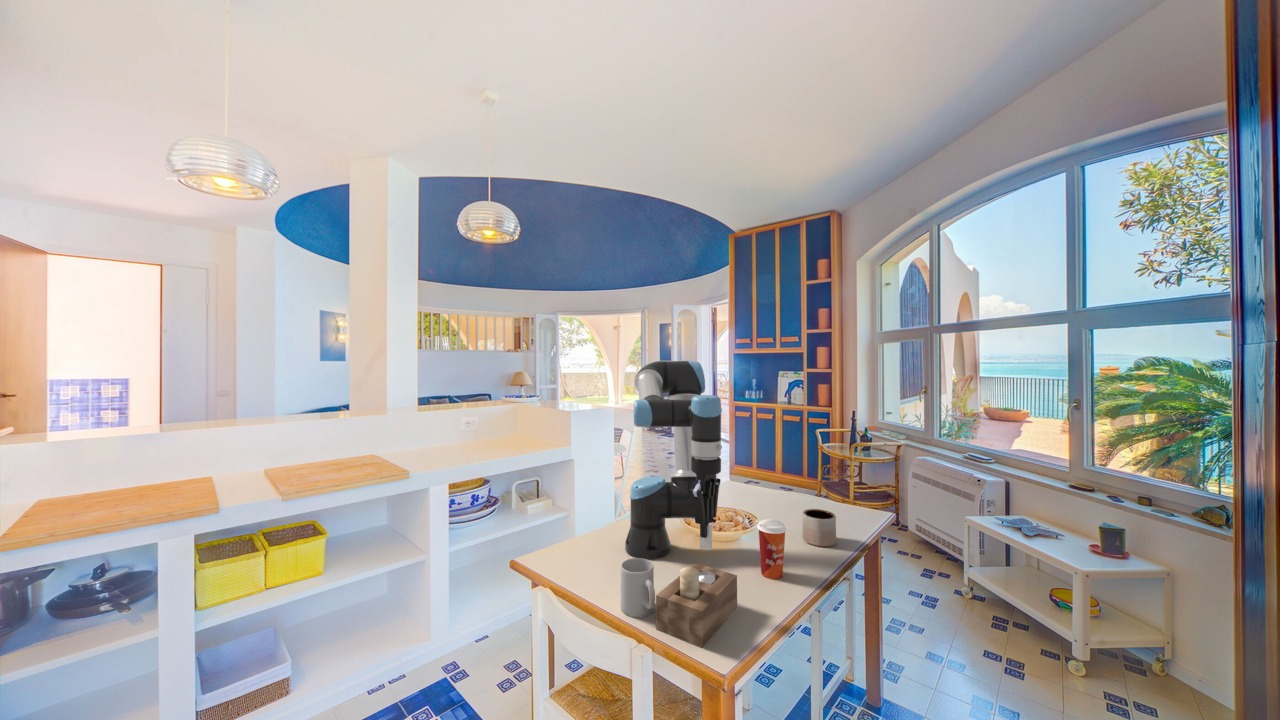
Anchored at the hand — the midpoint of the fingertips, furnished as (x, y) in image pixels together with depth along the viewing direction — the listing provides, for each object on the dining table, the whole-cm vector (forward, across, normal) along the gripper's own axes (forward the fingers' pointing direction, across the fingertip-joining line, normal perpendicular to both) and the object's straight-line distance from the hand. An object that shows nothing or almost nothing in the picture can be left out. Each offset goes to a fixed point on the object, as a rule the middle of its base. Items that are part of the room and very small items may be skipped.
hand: (705, 548), depth 113 cm
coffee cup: (+16, +27, -8) cm, 32 cm away
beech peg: (+10, -10, 0) cm, 14 cm away
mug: (+15, -11, +13) cm, 23 cm away
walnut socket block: (+15, -5, 0) cm, 16 cm away
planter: (+16, +60, -14) cm, 64 cm away
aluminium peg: (+15, -1, 0) cm, 15 cm away
